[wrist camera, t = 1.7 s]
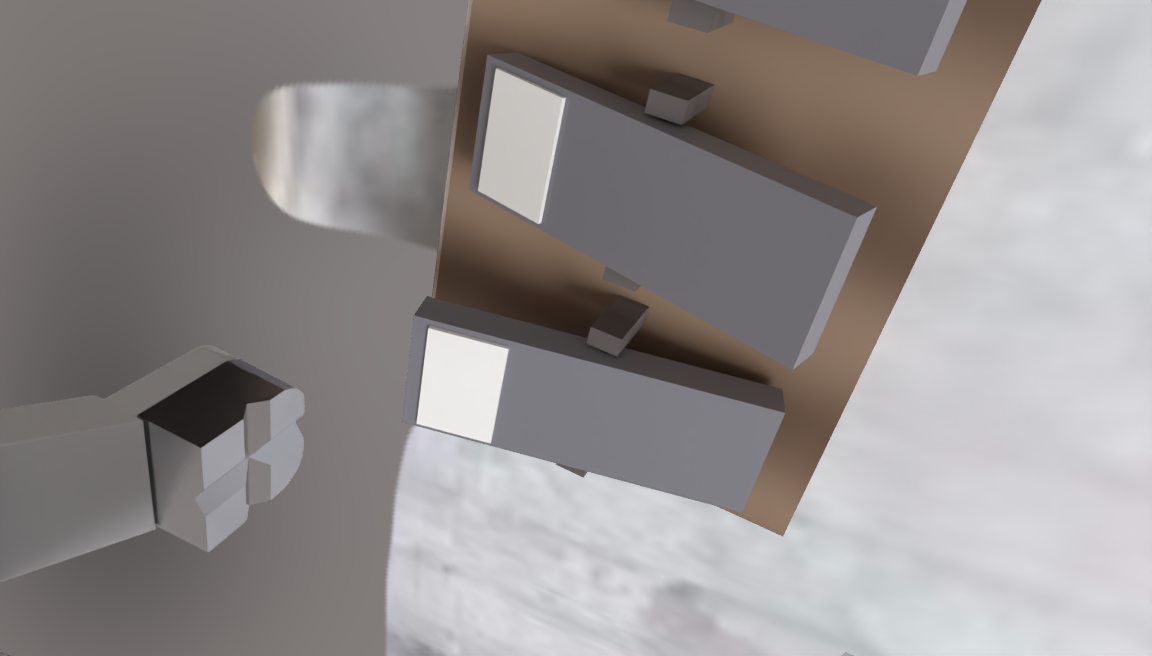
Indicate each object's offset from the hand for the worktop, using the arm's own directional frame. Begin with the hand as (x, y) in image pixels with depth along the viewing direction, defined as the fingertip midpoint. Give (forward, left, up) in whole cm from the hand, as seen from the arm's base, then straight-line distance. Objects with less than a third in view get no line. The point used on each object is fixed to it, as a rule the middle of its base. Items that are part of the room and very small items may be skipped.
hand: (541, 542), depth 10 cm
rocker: (-7, +3, -12) cm, 14 cm away
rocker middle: (0, +3, -12) cm, 13 cm away
